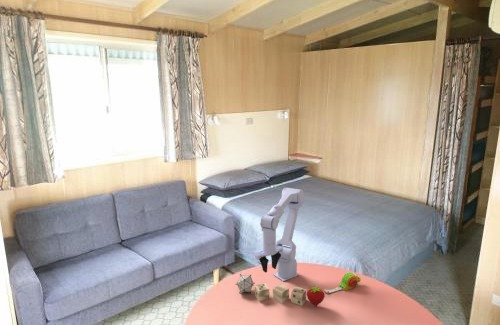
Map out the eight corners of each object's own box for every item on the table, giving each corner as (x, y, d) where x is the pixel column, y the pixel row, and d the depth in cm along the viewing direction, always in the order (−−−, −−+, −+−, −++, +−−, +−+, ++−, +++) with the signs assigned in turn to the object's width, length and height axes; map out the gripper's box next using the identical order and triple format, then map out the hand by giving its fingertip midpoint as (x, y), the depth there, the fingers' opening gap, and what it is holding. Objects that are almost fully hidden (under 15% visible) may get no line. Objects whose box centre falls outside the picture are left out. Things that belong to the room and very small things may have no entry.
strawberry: (324, 311, 142) (325, 289, 140) (306, 309, 143) (306, 287, 141) (324, 303, 147) (324, 281, 146) (306, 301, 149) (306, 280, 147)
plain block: (280, 294, 155) (280, 284, 154) (289, 298, 151) (289, 288, 150) (273, 298, 151) (273, 288, 150) (281, 303, 148) (281, 293, 147)
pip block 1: (265, 293, 156) (264, 282, 155) (269, 299, 151) (269, 288, 150) (254, 295, 154) (254, 285, 153) (258, 301, 149) (258, 290, 148)
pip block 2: (295, 296, 152) (295, 286, 152) (306, 299, 150) (306, 289, 149) (291, 302, 148) (291, 292, 147) (301, 306, 146) (302, 295, 145)
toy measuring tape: (364, 287, 159) (365, 274, 158) (329, 297, 152) (329, 283, 151) (355, 280, 165) (355, 268, 164) (321, 289, 158) (321, 276, 157)
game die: (246, 301, 156) (244, 292, 149) (233, 289, 160) (230, 280, 153) (259, 286, 160) (257, 277, 153) (245, 275, 164) (243, 266, 157)
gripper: (276, 234, 160) (276, 261, 163) (251, 242, 152) (251, 270, 155) (286, 239, 155) (286, 267, 157) (260, 248, 147) (260, 277, 149)
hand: (269, 269), depth 156 cm, fingers open, 5 cm apart
